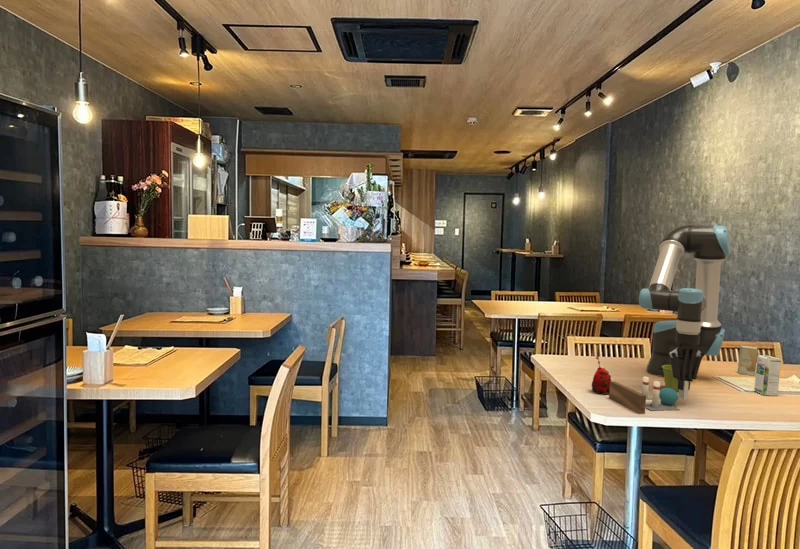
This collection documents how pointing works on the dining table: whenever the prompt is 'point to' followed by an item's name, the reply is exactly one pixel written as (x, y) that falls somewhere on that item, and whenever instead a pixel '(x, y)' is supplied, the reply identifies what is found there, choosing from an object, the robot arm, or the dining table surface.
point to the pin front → (649, 403)
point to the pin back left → (655, 394)
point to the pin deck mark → (661, 407)
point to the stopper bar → (627, 397)
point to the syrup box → (767, 375)
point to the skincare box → (747, 360)
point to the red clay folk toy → (601, 380)
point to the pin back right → (645, 386)
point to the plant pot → (670, 378)
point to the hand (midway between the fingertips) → (682, 398)
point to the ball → (668, 396)
